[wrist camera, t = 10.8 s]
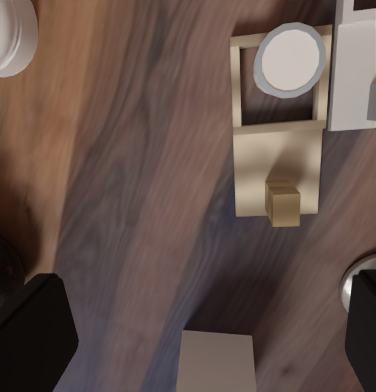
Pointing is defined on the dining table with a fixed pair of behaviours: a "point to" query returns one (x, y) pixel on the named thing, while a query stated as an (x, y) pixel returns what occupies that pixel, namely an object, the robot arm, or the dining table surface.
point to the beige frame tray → (278, 149)
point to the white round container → (289, 60)
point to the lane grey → (353, 69)
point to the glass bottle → (9, 273)
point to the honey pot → (17, 35)
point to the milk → (216, 363)
